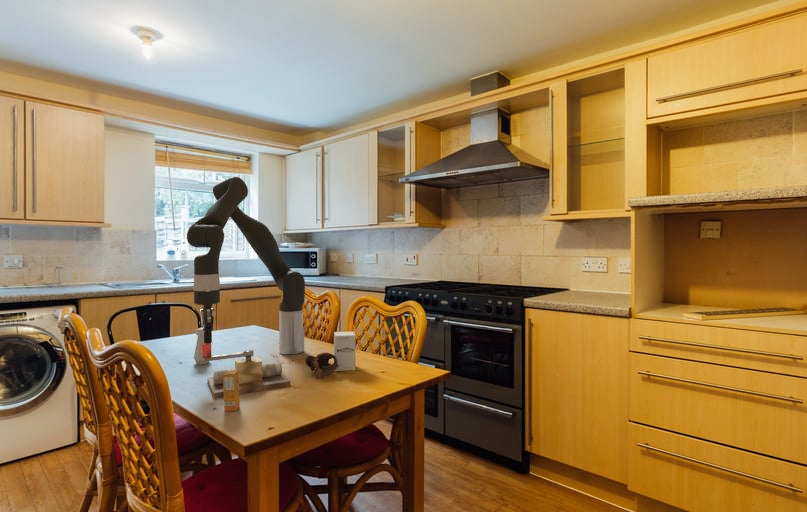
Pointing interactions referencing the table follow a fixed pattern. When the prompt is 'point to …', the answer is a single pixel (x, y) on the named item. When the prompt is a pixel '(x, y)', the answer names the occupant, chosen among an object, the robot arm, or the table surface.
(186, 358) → the table surface
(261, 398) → the table surface
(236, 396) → the supplement box
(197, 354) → the salt shaker
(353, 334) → the supplement box
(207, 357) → the valve lever
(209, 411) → the table surface
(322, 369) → the pottery mug
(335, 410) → the table surface
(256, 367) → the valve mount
